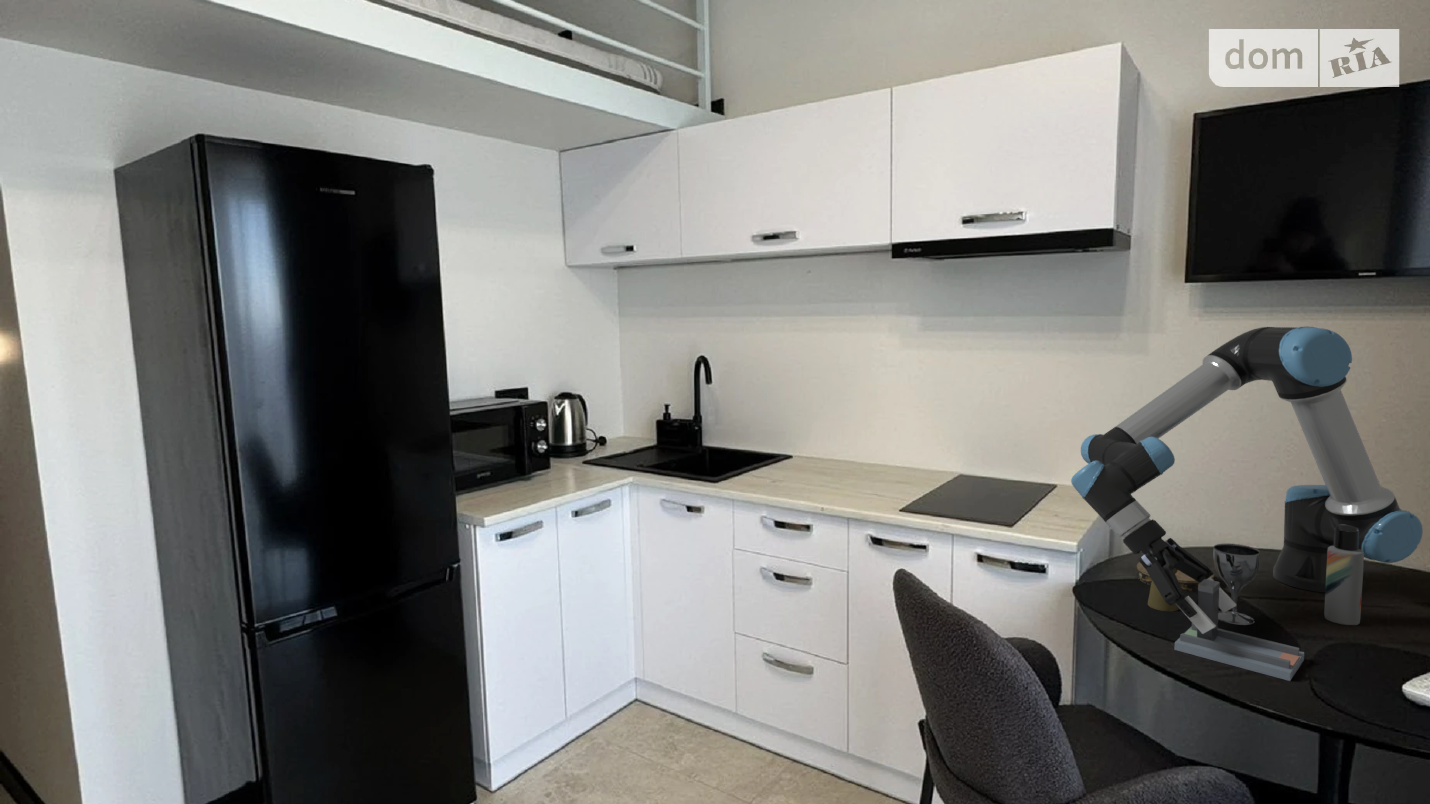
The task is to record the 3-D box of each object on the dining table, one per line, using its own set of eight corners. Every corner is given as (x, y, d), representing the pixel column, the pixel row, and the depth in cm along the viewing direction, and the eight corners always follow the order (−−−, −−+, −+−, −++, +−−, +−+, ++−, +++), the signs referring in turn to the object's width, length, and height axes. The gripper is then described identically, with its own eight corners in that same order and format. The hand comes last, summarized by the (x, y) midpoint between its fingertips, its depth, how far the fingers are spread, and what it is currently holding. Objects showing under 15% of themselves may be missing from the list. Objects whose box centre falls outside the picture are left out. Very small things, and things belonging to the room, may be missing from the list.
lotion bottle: (1352, 616, 154) (1357, 523, 152) (1365, 627, 149) (1371, 531, 147) (1319, 613, 156) (1323, 521, 154) (1331, 624, 151) (1336, 529, 149)
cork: (1184, 612, 160) (1185, 563, 159) (1153, 610, 161) (1154, 562, 160) (1172, 601, 166) (1174, 554, 165) (1143, 600, 167) (1144, 553, 166)
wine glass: (1202, 612, 160) (1204, 544, 158) (1236, 609, 160) (1239, 542, 158) (1230, 627, 152) (1233, 556, 150) (1267, 624, 152) (1269, 553, 151)
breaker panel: (1174, 649, 143) (1174, 636, 142) (1192, 632, 150) (1193, 619, 150) (1290, 681, 129) (1290, 666, 129) (1303, 660, 137) (1304, 646, 136)
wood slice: (1215, 597, 168) (1215, 584, 168) (1135, 586, 176) (1135, 574, 176) (1212, 575, 181) (1212, 563, 181) (1137, 566, 190) (1138, 555, 189)
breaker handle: (1196, 639, 143) (1198, 584, 142) (1203, 632, 145) (1204, 579, 144) (1211, 643, 141) (1213, 587, 140) (1217, 636, 144) (1219, 582, 142)
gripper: (1144, 525, 161) (1222, 609, 152) (1098, 552, 145) (1182, 649, 135) (1172, 506, 157) (1254, 591, 147) (1127, 531, 140) (1217, 629, 131)
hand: (1220, 619), depth 141 cm, fingers open, 13 cm apart
